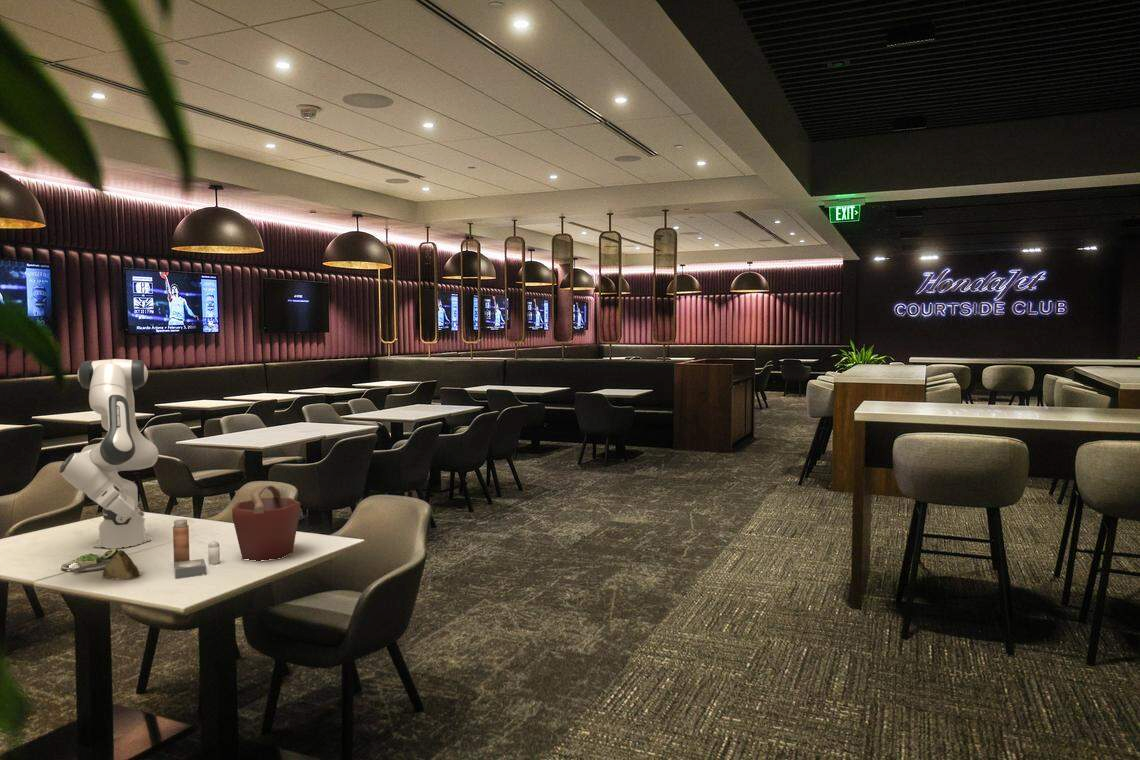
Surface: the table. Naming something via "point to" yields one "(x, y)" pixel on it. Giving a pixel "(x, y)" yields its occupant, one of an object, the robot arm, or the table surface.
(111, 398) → the robot arm
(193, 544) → the table surface
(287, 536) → the bucket
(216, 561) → the salt shaker
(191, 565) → the plinth
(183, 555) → the pepper mill
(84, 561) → the plate of avocado toast
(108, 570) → the rock
